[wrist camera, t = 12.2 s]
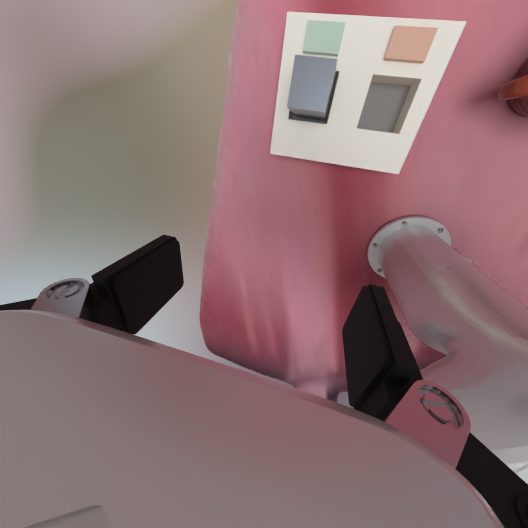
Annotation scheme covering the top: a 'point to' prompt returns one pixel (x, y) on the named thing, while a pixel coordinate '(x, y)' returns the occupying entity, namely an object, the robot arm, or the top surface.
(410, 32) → the socket block
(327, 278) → the top surface
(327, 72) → the dark grey rectangular prism
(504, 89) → the mug
